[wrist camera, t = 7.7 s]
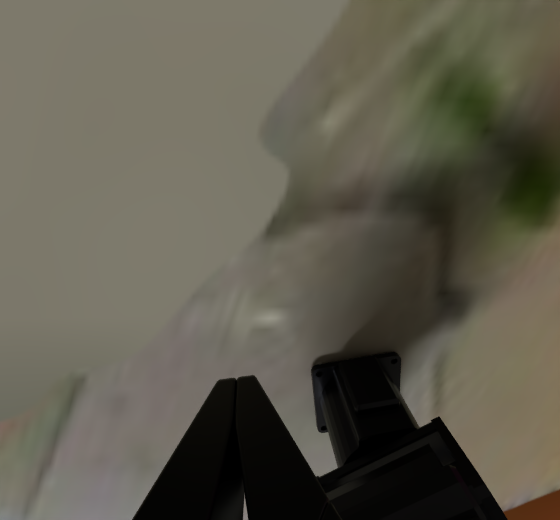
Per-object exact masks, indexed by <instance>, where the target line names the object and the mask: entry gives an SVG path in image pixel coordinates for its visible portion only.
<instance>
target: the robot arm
mask: <svg viewBox="0 0 560 520" xmlns="http://www.w3.org/2000/svg"><path fill="white" fill-rule="evenodd" d="M392 359H394V360H392ZM319 371H321V372H320V373H317V372H319ZM400 373H401V358H400V357H399V355H398V354H397V353H395V352H390V353H385V354H379V355H373V356H367V357H361V358H355V359H349V360H343V361H338V362H332V363H326V364H320V365H316V366H314V367H313V368H312V369H311V375H312V385H313V394H314V404H315V414H316V423H317V428H318V431H319V432H321V433H326V432H328V433H329V437H330V440H331V444H332V448H333V451H334V455H335V459H336V462H337V466H338V468H337V469H335V470H333V471H331V472H329V473H327V474H325V475H323V476H321V477H319V476H317V477H316V476H315V475H314V473H313V471H312V470H311V468H310V466H309V465H308V463H307V461H306V460H305V458H304V456H303V455H302V453H301V451H300V450H299V448H298V446H297V445H296V443H295V441H294V440H293V438H292V436H291V435H290V433H289V431H288V430H287V428H286V426H285V425H284V423H283V421H282V420H281V418H280V416H279V415H278V413H277V411H276V410H275V408H274V406H273V405H272V403H271V401H270V400H269V398H268V396H267V395H266V393H265V391H264V390H263V388H262V386H261V385H260V383H259V381H258V380H257V378H256V377H255V376H254V375H250V376H242V377H238V379H237V380H236V379H235V378H227V379H220V380H218V381H217V383H216V384H215V386H214V387H213V389H212V391H211V392H210V394H209V396H208V397H207V399H206V400H205V402H204V404H203V405H202V407H201V409H200V410H199V412H198V413H197V415H196V417H195V418H194V420H193V422H192V423H191V425H190V426H189V428H188V430H187V431H186V433H185V435H184V436H183V438H182V439H181V441H180V443H179V444H178V446H177V448H176V449H175V451H174V452H173V454H172V456H171V457H170V459H169V461H168V462H167V464H166V465H165V467H164V469H163V470H162V472H161V474H160V475H159V477H158V478H157V480H156V482H155V483H154V485H153V487H152V488H151V490H150V491H149V493H148V495H147V496H146V498H145V500H144V501H143V503H142V504H141V506H140V508H139V509H138V511H137V513H136V514H135V516H134V517H133V519H132V520H243V507H244V493H245V499H246V506H247V513H248V520H507V518H506V517H505V515H504V513H503V511H502V510H501V508H500V507H499V505H498V503H497V502H496V500H495V499H494V497H493V495H492V494H491V492H490V491H489V489H488V488H487V486H486V485H485V483H484V481H483V480H482V478H481V477H480V475H479V474H478V472H477V471H476V469H475V468H474V466H473V465H472V464H471V462H470V461H469V459H468V458H467V456H466V455H465V453H464V452H463V450H462V449H461V447H460V446H459V445H458V443H457V442H456V440H455V439H454V437H453V436H452V434H451V433H450V431H449V430H448V428H447V427H446V426H445V424H444V423H443V421H442V420H441V418H440V417H437V418H435V419H433V420H431V421H432V422H430V423H428V424H426V425H424V426H422V427H419V426H418V424H417V422H416V420H415V419H414V417H413V415H412V413H411V411H410V410H409V408H408V406H407V404H406V403H405V401H404V399H403V397H402V396H401V394H400Z"/></svg>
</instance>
